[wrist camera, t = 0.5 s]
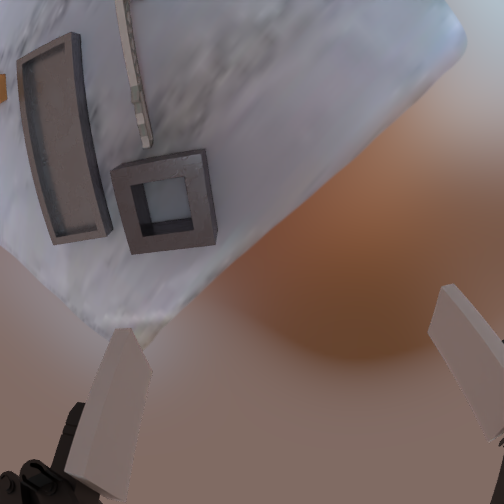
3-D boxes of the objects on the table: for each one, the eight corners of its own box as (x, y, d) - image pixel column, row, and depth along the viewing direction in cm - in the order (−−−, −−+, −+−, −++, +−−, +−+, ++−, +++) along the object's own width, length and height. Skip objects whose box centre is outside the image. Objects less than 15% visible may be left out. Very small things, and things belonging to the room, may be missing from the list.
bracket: (145, -38, 18) (115, -40, 13) (173, 107, 36) (160, 147, 30) (118, -30, 18) (82, -27, 13) (151, 111, 36) (133, 152, 30)
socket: (123, 163, 32) (109, 171, 28) (205, 148, 32) (200, 154, 28) (141, 239, 36) (131, 254, 33) (217, 230, 36) (215, 244, 33)
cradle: (26, 61, 24) (16, 60, 21) (80, 34, 23) (71, 31, 21) (61, 238, 36) (53, 245, 34) (113, 229, 35) (106, 236, 33)
